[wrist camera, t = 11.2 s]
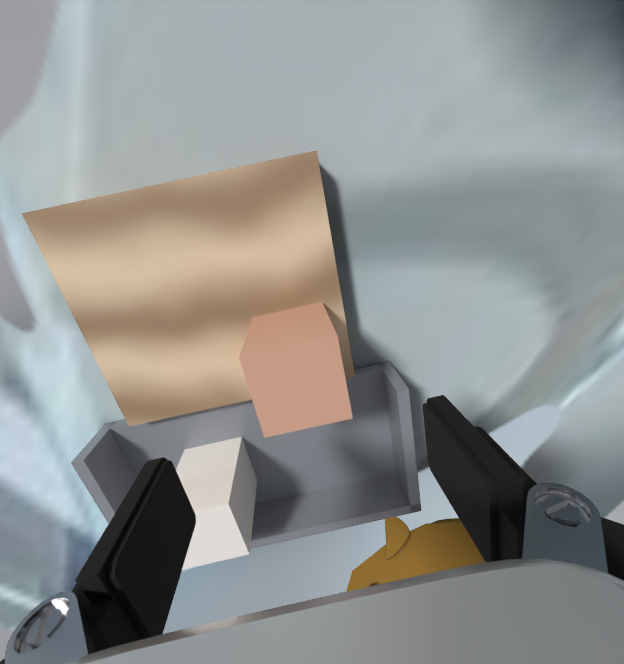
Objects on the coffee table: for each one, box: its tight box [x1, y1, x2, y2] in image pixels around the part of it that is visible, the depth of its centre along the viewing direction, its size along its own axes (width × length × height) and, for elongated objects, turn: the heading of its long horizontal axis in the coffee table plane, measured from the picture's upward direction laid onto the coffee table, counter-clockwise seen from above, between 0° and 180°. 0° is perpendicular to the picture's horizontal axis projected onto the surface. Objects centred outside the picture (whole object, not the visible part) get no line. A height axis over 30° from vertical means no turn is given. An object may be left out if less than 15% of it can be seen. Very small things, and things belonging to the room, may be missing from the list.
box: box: [71, 362, 421, 549], centre depth 24 cm, size 11×22×4 cm, turn 102°
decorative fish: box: [346, 516, 486, 592], centre depth 26 cm, size 22×3×10 cm, turn 98°
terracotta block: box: [239, 302, 353, 438], centre depth 17 cm, size 4×4×6 cm
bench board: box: [22, 151, 355, 426], centre depth 20 cm, size 14×16×2 cm
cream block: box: [176, 437, 257, 570], centre depth 22 cm, size 4×4×6 cm
